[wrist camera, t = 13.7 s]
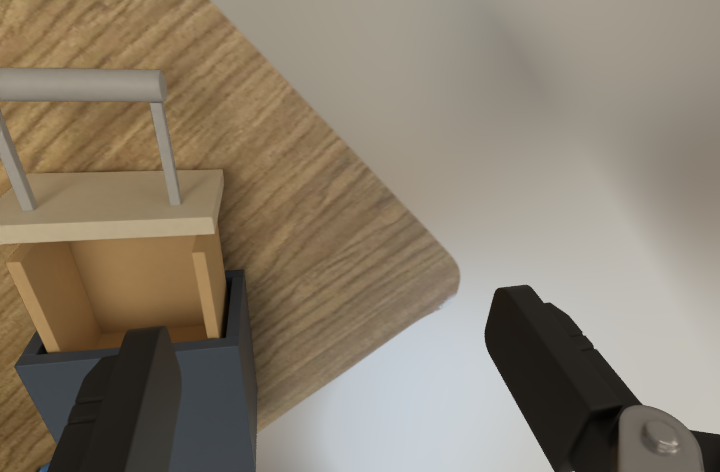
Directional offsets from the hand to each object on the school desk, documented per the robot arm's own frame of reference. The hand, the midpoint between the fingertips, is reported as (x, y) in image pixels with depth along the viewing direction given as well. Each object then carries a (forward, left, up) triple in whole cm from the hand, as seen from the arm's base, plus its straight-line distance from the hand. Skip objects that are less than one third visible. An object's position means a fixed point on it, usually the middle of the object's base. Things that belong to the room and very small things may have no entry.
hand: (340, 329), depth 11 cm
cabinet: (+25, +5, -23) cm, 35 cm away
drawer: (+14, -4, -22) cm, 27 cm away
